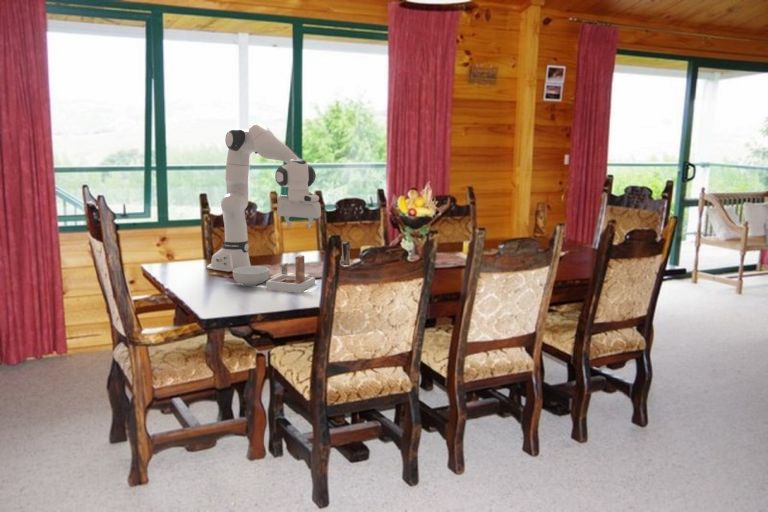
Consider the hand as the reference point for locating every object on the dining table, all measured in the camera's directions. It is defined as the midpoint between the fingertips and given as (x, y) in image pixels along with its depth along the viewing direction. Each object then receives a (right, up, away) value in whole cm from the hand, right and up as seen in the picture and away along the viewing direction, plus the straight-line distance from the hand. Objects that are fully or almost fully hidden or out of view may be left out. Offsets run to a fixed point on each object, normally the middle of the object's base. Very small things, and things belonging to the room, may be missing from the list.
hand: (298, 227), depth 311 cm
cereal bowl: (-23, -26, +13) cm, 37 cm away
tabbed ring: (-4, -26, +7) cm, 28 cm away
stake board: (-7, -23, +26) cm, 35 cm away
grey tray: (-4, -27, +7) cm, 28 cm away
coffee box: (+17, -22, +34) cm, 44 cm away
